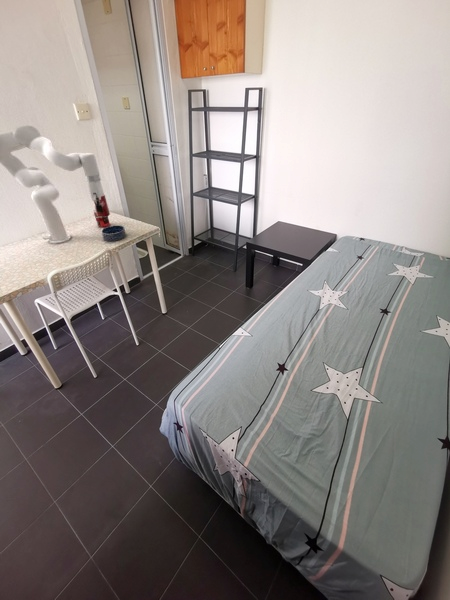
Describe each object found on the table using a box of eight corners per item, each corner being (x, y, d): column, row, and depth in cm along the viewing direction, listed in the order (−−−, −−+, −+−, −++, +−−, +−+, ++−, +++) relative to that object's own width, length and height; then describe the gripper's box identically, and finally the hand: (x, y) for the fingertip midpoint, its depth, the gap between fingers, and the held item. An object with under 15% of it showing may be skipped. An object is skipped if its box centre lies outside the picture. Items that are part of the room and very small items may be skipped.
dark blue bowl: (104, 243, 174) (102, 236, 171) (102, 235, 184) (100, 228, 181) (128, 238, 178) (126, 231, 175) (124, 231, 188) (122, 223, 185)
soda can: (106, 218, 167) (100, 197, 160) (95, 217, 169) (88, 197, 161) (112, 213, 173) (107, 193, 166) (101, 213, 174) (95, 193, 167)
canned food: (98, 224, 199) (93, 209, 193) (110, 222, 201) (105, 207, 194) (97, 228, 193) (92, 212, 187) (110, 226, 195) (105, 211, 189)
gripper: (90, 174, 165) (99, 205, 175) (81, 182, 151) (91, 215, 161) (103, 174, 165) (111, 204, 176) (96, 181, 151) (105, 214, 162)
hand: (102, 209), depth 168 cm, fingers closed on soda can, 7 cm apart
